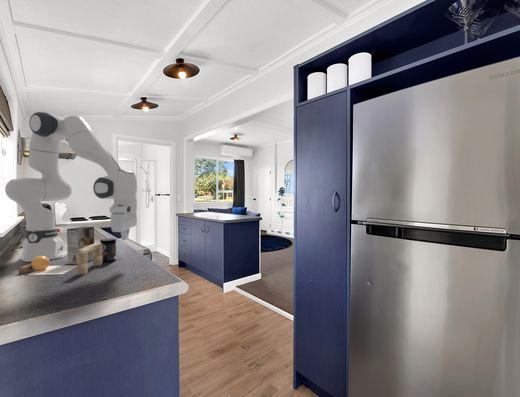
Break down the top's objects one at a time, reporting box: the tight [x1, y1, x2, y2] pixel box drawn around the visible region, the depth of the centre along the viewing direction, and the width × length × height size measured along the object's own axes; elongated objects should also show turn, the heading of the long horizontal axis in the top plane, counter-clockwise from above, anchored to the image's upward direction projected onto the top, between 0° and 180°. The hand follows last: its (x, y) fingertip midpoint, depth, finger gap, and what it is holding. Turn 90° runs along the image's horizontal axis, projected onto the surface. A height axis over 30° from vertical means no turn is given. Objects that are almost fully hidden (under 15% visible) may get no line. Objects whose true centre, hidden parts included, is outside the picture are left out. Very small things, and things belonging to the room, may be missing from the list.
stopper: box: [18, 263, 35, 275], centre depth 114 cm, size 11×2×2 cm, turn 7°
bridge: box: [76, 242, 103, 276], centre depth 116 cm, size 3×15×10 cm, turn 7°
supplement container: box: [99, 237, 117, 264], centre depth 130 cm, size 7×7×10 cm
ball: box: [30, 256, 51, 271], centre depth 114 cm, size 6×6×6 cm
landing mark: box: [26, 264, 77, 276], centre depth 114 cm, size 13×13×1 cm
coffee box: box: [66, 226, 95, 265], centre depth 128 cm, size 9×6×16 cm
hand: (125, 239), depth 118 cm, fingers closed
